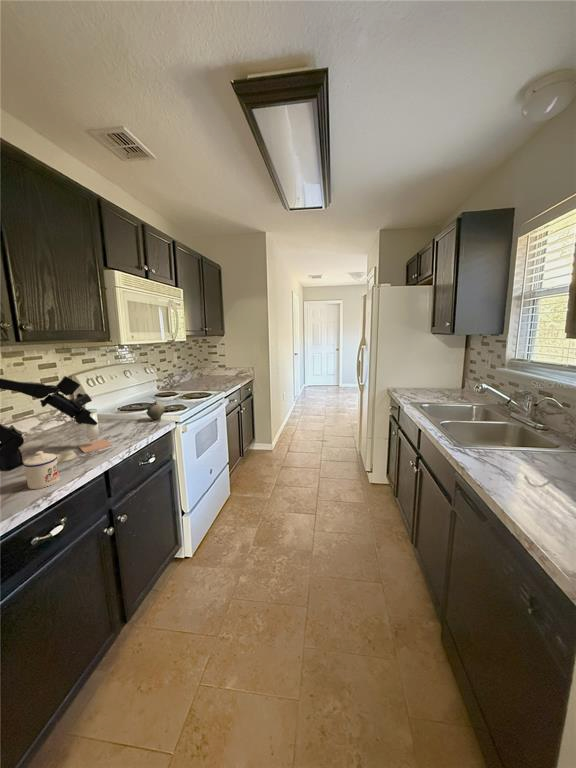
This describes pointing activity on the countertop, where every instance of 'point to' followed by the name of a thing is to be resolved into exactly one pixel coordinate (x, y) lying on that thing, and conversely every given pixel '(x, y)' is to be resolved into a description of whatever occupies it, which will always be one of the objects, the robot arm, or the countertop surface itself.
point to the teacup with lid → (41, 470)
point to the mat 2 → (94, 445)
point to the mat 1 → (66, 456)
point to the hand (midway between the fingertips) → (95, 423)
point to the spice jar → (93, 426)
